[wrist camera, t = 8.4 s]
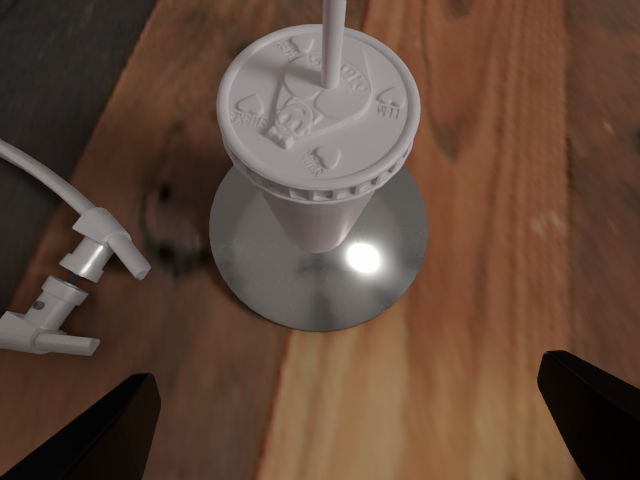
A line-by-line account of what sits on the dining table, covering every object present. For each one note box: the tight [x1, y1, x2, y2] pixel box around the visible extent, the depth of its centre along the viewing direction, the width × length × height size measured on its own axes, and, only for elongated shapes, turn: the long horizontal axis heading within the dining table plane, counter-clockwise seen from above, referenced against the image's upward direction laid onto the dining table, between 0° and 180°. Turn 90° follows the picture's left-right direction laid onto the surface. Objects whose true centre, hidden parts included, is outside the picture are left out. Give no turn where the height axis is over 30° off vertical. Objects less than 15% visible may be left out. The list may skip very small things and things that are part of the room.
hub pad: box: [209, 165, 428, 332], centre depth 21 cm, size 12×12×1 cm
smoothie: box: [217, 0, 420, 253], centre depth 14 cm, size 6×6×14 cm
